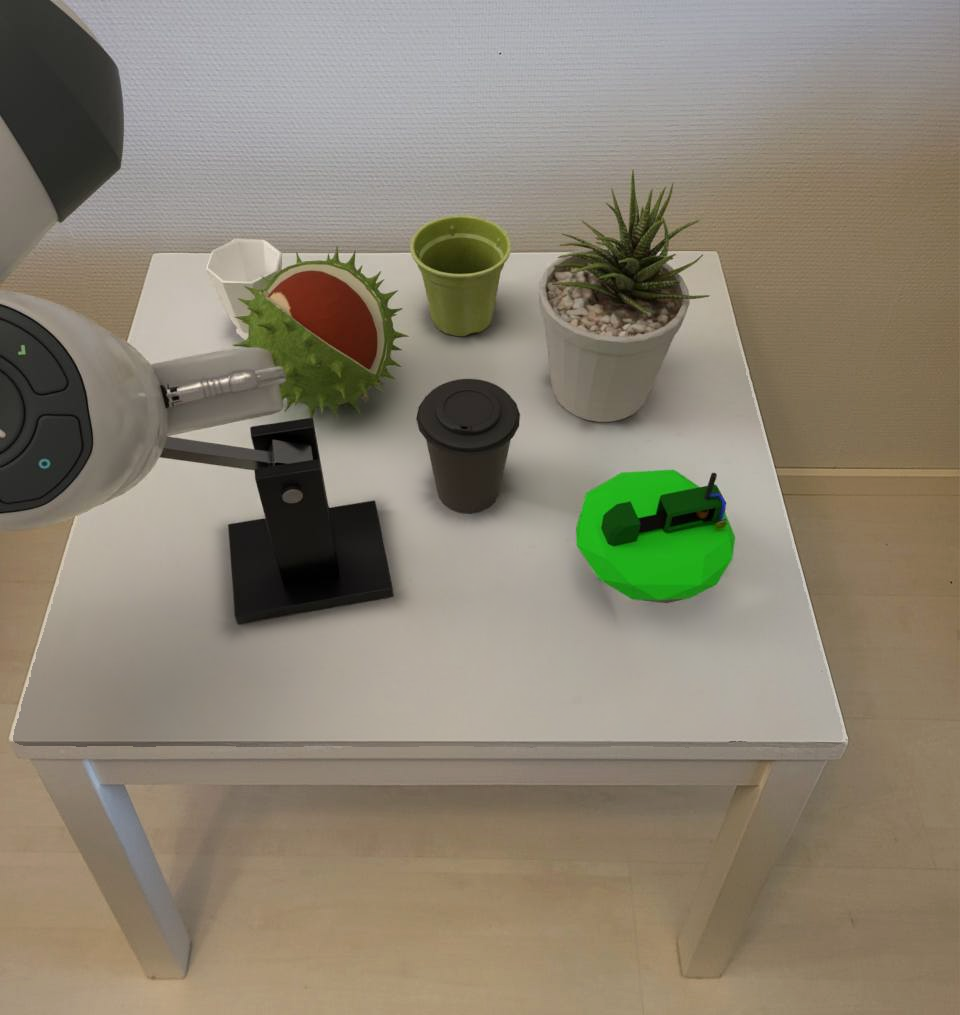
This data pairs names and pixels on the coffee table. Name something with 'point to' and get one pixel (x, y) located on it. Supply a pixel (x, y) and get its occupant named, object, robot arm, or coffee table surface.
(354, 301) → the chestnut
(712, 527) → the green rounded piece
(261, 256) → the cup
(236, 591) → the black lever stand
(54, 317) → the robot arm
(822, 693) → the coffee table surface
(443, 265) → the plant pot
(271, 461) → the tap lever
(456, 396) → the coffee cup
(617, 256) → the potted plant
